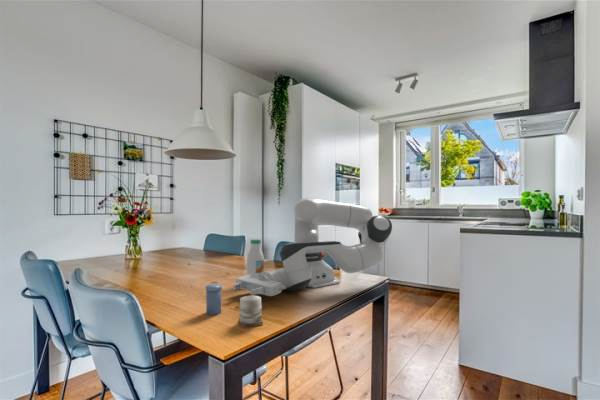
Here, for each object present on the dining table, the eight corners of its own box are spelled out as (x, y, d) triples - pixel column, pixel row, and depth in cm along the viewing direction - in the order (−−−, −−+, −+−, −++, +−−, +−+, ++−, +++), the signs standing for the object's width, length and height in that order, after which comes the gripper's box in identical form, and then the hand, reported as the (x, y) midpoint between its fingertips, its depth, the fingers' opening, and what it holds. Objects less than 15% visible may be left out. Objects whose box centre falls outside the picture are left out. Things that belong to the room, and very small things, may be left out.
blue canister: (220, 309, 105) (220, 283, 105) (222, 314, 100) (222, 287, 101) (204, 311, 103) (205, 284, 103) (206, 316, 98) (206, 288, 99)
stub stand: (258, 317, 98) (258, 294, 98) (264, 325, 92) (264, 300, 92) (237, 320, 95) (237, 296, 95) (241, 328, 89) (241, 303, 89)
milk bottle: (249, 286, 135) (249, 240, 135) (245, 282, 142) (245, 238, 142) (266, 284, 138) (266, 239, 138) (261, 280, 145) (261, 238, 145)
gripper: (288, 295, 115) (262, 304, 105) (252, 285, 128) (225, 293, 118) (288, 278, 115) (262, 286, 105) (252, 270, 128) (225, 277, 118)
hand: (242, 289), depth 111 cm, fingers open, 8 cm apart
